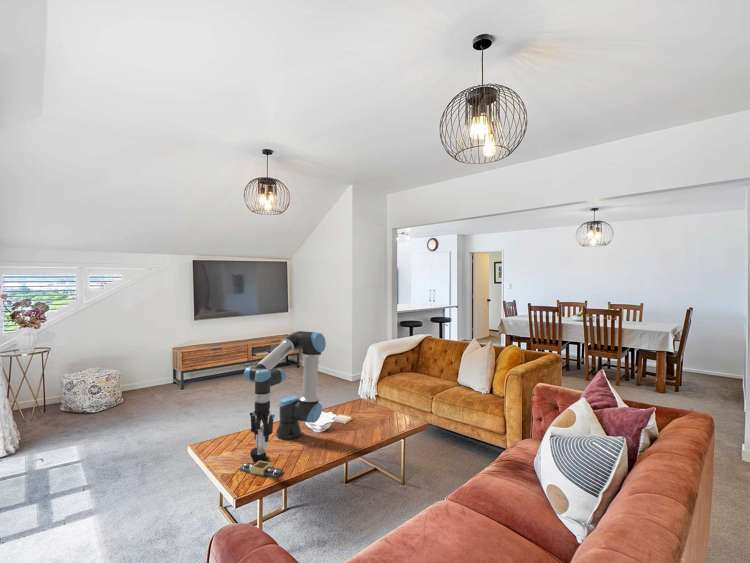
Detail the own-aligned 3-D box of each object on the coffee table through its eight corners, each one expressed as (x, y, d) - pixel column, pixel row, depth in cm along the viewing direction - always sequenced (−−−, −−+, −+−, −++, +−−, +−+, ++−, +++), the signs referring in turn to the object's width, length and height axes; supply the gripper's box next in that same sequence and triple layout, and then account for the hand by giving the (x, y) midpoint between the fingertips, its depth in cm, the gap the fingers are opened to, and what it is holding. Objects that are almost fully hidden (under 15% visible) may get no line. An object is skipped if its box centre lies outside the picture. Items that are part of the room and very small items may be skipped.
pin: (260, 449, 198) (260, 426, 198) (267, 451, 197) (267, 427, 197) (255, 453, 194) (255, 429, 194) (262, 454, 193) (262, 430, 193)
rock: (272, 456, 213) (273, 445, 213) (263, 463, 204) (263, 452, 204) (256, 453, 215) (256, 443, 215) (247, 461, 207) (247, 450, 207)
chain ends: (248, 463, 203) (248, 458, 203) (284, 471, 196) (284, 465, 196) (238, 470, 196) (238, 464, 196) (275, 478, 189) (275, 472, 189)
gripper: (243, 401, 195) (242, 447, 195) (272, 405, 190) (271, 453, 190) (253, 396, 202) (252, 441, 202) (280, 400, 197) (279, 446, 197)
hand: (261, 447), depth 196 cm, fingers closed on pin, 4 cm apart
